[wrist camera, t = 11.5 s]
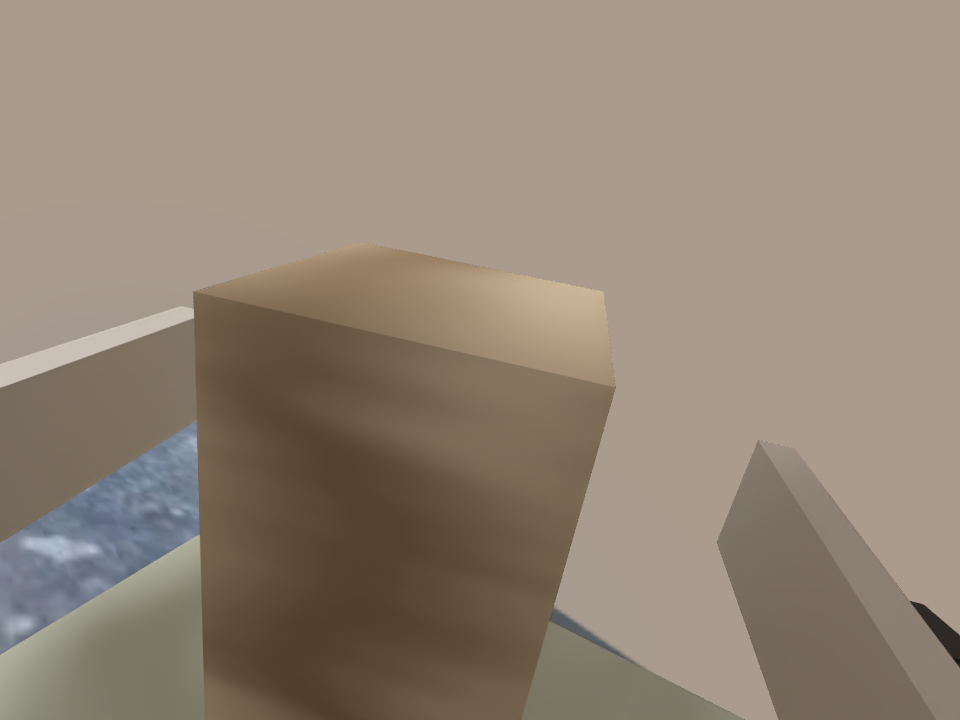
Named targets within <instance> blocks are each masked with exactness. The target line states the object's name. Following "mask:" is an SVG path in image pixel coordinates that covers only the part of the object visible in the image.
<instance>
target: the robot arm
mask: <svg viewBox="0 0 960 720" xmlns="http://www.w3.org/2000/svg"><path fill="white" fill-rule="evenodd" d="M196 420H197V411H196V374H195V336H194V309H191V308H187V307H182V306H180V307H177V308H174V309H171V310H167V311H165V312H162V313H158V314H155V315H152V316H149V317H146V318H142V319H140V320H136V321H133V322H130V323H127V324H124V325H121V326H118V327H114V328H111V329H108V330H105V331H102V332H99V333H96V334H93V335H89V336H86V337H83V338H80V339H77V340H74V341H71V342H67V343H64V344H61V345H58V346H55V347H52V348H49V349H46V350H43V351H39V352H36V353H33V354H30V355H27V356H24V357H21V358H17V359H14V360H11V361H8V362H5V363H2V364H0V543H1V542H2V541H4V540H6V539H7V538H9V537H10V536H12V535H14V534H15V533H17V532H18V531H20V530H22V529H23V528H25V527H26V526H28V525H30V524H31V523H33V522H34V521H36V520H38V519H39V518H41V517H42V516H44V515H46V514H47V513H49V512H50V511H52V510H54V509H55V508H57V507H58V506H60V505H62V504H63V503H65V502H66V501H68V500H70V499H71V498H73V497H75V496H76V495H78V494H79V493H81V492H83V491H84V490H86V489H87V488H89V487H91V486H92V485H94V484H95V483H97V482H99V481H100V480H102V479H103V478H105V477H107V476H108V475H110V474H111V473H113V472H115V471H116V470H118V469H119V468H121V467H123V466H124V465H126V464H127V463H129V462H131V461H132V460H134V459H135V458H137V457H139V456H140V455H142V454H143V453H145V452H147V451H148V450H150V449H152V448H153V447H155V446H156V445H158V444H160V443H161V442H163V441H164V440H166V439H168V438H169V437H171V436H172V435H174V434H176V433H177V432H179V431H180V430H182V429H184V428H185V427H187V426H188V425H190V424H192V423H193V422H195V421H196ZM717 544H718V547H719V550H720V552H721V555H722V558H723V561H724V564H725V567H726V570H727V573H728V576H729V578H730V581H731V584H732V587H733V590H734V592H735V596H736V598H737V601H738V604H739V607H740V610H741V613H742V616H743V619H744V621H745V624H746V627H747V630H748V633H749V636H750V639H751V641H752V644H753V647H754V650H755V653H756V656H757V659H758V662H759V665H760V668H761V670H762V673H763V676H764V679H765V682H766V685H767V688H768V690H769V693H770V696H771V699H772V702H773V705H774V708H775V711H776V714H777V716H778V719H779V720H960V636H959V634H958V633H956V632H955V631H954V630H953V629H952V628H950V627H949V626H948V625H947V624H946V623H945V622H944V621H942V620H941V619H940V618H939V617H938V616H936V615H935V614H934V613H933V612H932V611H931V610H929V609H928V608H927V607H926V606H925V605H923V604H920V603H916V602H912V601H909V600H908V599H907V597H906V596H905V594H904V593H903V592H902V590H901V589H900V588H899V587H898V585H897V584H896V583H895V581H894V580H893V579H892V577H891V576H890V575H889V573H888V572H887V571H886V569H885V568H884V567H883V565H882V564H881V563H880V561H879V560H878V559H877V557H876V556H875V555H874V553H873V552H872V551H871V549H870V548H869V547H868V545H867V544H866V543H865V541H864V540H863V539H862V537H861V536H860V535H859V533H858V532H857V531H856V529H855V528H854V527H853V525H852V524H851V523H850V521H849V520H848V519H847V517H846V516H845V515H844V513H843V512H842V511H841V509H840V508H839V507H838V506H837V504H836V503H835V501H834V500H833V499H832V497H831V496H830V495H829V494H828V492H827V491H826V489H825V488H824V487H823V485H822V484H821V483H820V482H819V480H818V479H817V477H816V476H815V475H814V474H813V472H812V471H811V470H810V468H809V467H808V466H807V464H806V463H805V461H804V460H803V459H802V458H801V456H800V455H799V454H798V452H797V451H796V450H795V449H793V448H789V447H785V446H780V445H776V444H772V443H768V442H763V441H759V440H758V442H757V444H756V447H755V449H754V452H753V454H752V457H751V459H750V462H749V465H748V467H747V469H746V472H745V474H744V477H743V479H742V481H741V484H740V487H739V489H738V491H737V494H736V496H735V499H734V501H733V504H732V506H731V509H730V511H729V514H728V516H727V519H726V521H725V524H724V526H723V529H722V531H721V533H720V536H719V538H718V541H717Z"/></svg>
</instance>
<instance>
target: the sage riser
mask: <svg viewBox="0 0 960 720" xmlns="http://www.w3.org/2000/svg"><path fill="white" fill-rule="evenodd" d="M0 720H205V710H204V672H203V635H202V598H201V560H200V534H199V535H197V536H196V537H194V538H192V539H191V540H189V541H187V542H186V543H184V544H183V545H181V546H179V547H178V548H176V549H174V550H173V551H171V552H169V553H168V554H166V555H164V556H163V557H161V558H159V559H158V560H156V561H154V562H153V563H151V564H150V565H148V566H146V567H145V568H143V569H141V570H140V571H138V572H136V573H135V574H133V575H131V576H130V577H128V578H126V579H125V580H123V581H121V582H120V583H118V584H116V585H115V586H113V587H112V588H110V589H108V590H107V591H105V592H103V593H102V594H100V595H98V596H97V597H95V598H93V599H92V600H90V601H88V602H87V603H85V604H83V605H82V606H80V607H79V608H77V609H75V610H74V611H72V612H70V613H69V614H67V615H65V616H64V617H62V618H60V619H59V620H57V621H55V622H54V623H52V624H50V625H49V626H47V627H45V628H44V629H42V630H41V631H39V632H37V633H36V634H34V635H32V636H31V637H29V638H27V639H26V640H24V641H22V642H21V643H19V644H17V645H16V646H14V647H12V648H11V649H9V650H8V651H6V652H4V653H3V654H1V655H0ZM521 720H745V719H742V718H741V717H739V716H737V715H735V714H733V713H731V712H729V711H727V710H725V709H723V708H721V707H719V706H717V705H715V704H713V703H711V702H709V701H707V700H705V699H703V698H701V697H699V696H697V695H695V694H693V693H691V692H689V691H687V690H685V689H683V688H681V687H679V686H677V685H675V684H673V683H671V682H669V681H667V680H665V679H663V678H661V677H660V676H657V675H656V674H654V673H652V672H650V671H648V670H646V669H644V668H642V667H640V666H638V665H636V664H634V663H632V662H630V661H628V660H626V659H624V658H622V657H620V656H618V655H616V654H614V653H612V652H610V651H608V650H606V649H604V648H602V647H600V646H598V645H596V644H594V643H592V642H590V641H588V640H586V639H584V638H582V637H580V636H578V635H576V634H574V633H572V632H571V631H569V630H567V629H565V628H563V627H561V626H559V625H557V624H555V623H553V622H551V621H549V624H548V628H547V631H546V635H545V638H544V642H543V645H542V649H541V652H540V656H539V659H538V663H537V666H536V670H535V673H534V677H533V680H532V684H531V687H530V691H529V695H528V698H527V702H526V705H525V709H524V712H523V716H522V719H521Z"/></svg>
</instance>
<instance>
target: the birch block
mask: <svg viewBox="0 0 960 720" xmlns="http://www.w3.org/2000/svg"><path fill="white" fill-rule="evenodd" d="M193 299H194V336H195V374H196V411H197V448H198V486H199V523H200V560H201V598H202V635H203V672H204V710H205V720H521V719H522V716H523V712H524V709H525V705H526V702H527V698H528V695H529V691H530V687H531V684H532V680H533V677H534V673H535V670H536V666H537V663H538V659H539V656H540V652H541V649H542V645H543V642H544V638H545V635H546V631H547V628H548V624H549V621H550V617H551V614H552V610H553V606H554V603H555V599H556V596H557V592H558V589H559V585H560V582H561V578H562V575H563V571H564V568H565V564H566V561H567V557H568V554H569V550H570V546H571V543H572V540H573V536H574V532H575V529H576V525H577V522H578V518H579V515H580V511H581V508H582V504H583V501H584V497H585V494H586V490H587V487H588V483H589V480H590V476H591V473H592V469H593V466H594V462H595V458H596V455H597V451H598V448H599V444H600V441H601V437H602V434H603V430H604V427H605V423H606V420H607V416H608V413H609V409H610V406H611V402H612V399H613V395H614V392H615V388H616V386H615V378H614V370H613V363H612V356H611V348H610V339H609V332H608V324H607V316H606V309H605V301H604V294H603V292H602V291H597V290H592V289H587V288H582V287H578V286H573V285H568V284H563V283H558V282H553V281H548V280H544V279H539V278H534V277H529V276H524V275H519V274H514V273H510V272H504V271H500V270H495V269H490V268H485V267H480V266H476V265H470V264H466V263H461V262H456V261H451V260H446V259H442V258H437V257H432V256H427V255H422V254H417V253H412V252H408V251H403V250H397V249H393V248H388V247H383V246H378V245H374V244H369V243H364V242H359V243H356V244H352V245H349V246H346V247H342V248H339V249H335V250H332V251H329V252H325V253H322V254H319V255H315V256H312V257H309V258H305V259H302V260H298V261H295V262H291V263H288V264H285V265H281V266H278V267H274V268H271V269H268V270H264V271H261V272H258V273H254V274H251V275H247V276H244V277H241V278H237V279H234V280H230V281H227V282H224V283H220V284H217V285H214V286H211V287H207V288H203V289H200V290H197V291H194V292H193Z"/></svg>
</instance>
